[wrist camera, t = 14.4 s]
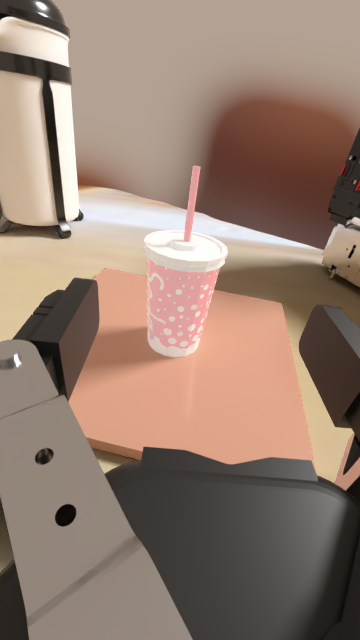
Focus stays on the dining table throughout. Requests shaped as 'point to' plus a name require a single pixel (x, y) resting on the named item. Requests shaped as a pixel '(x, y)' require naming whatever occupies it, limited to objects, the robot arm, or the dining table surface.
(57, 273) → the dining table surface
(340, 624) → the robot arm
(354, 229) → the bill acceptor
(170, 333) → the beverage cup
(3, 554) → the dining table surface
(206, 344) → the terracotta tile
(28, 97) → the coffee press
